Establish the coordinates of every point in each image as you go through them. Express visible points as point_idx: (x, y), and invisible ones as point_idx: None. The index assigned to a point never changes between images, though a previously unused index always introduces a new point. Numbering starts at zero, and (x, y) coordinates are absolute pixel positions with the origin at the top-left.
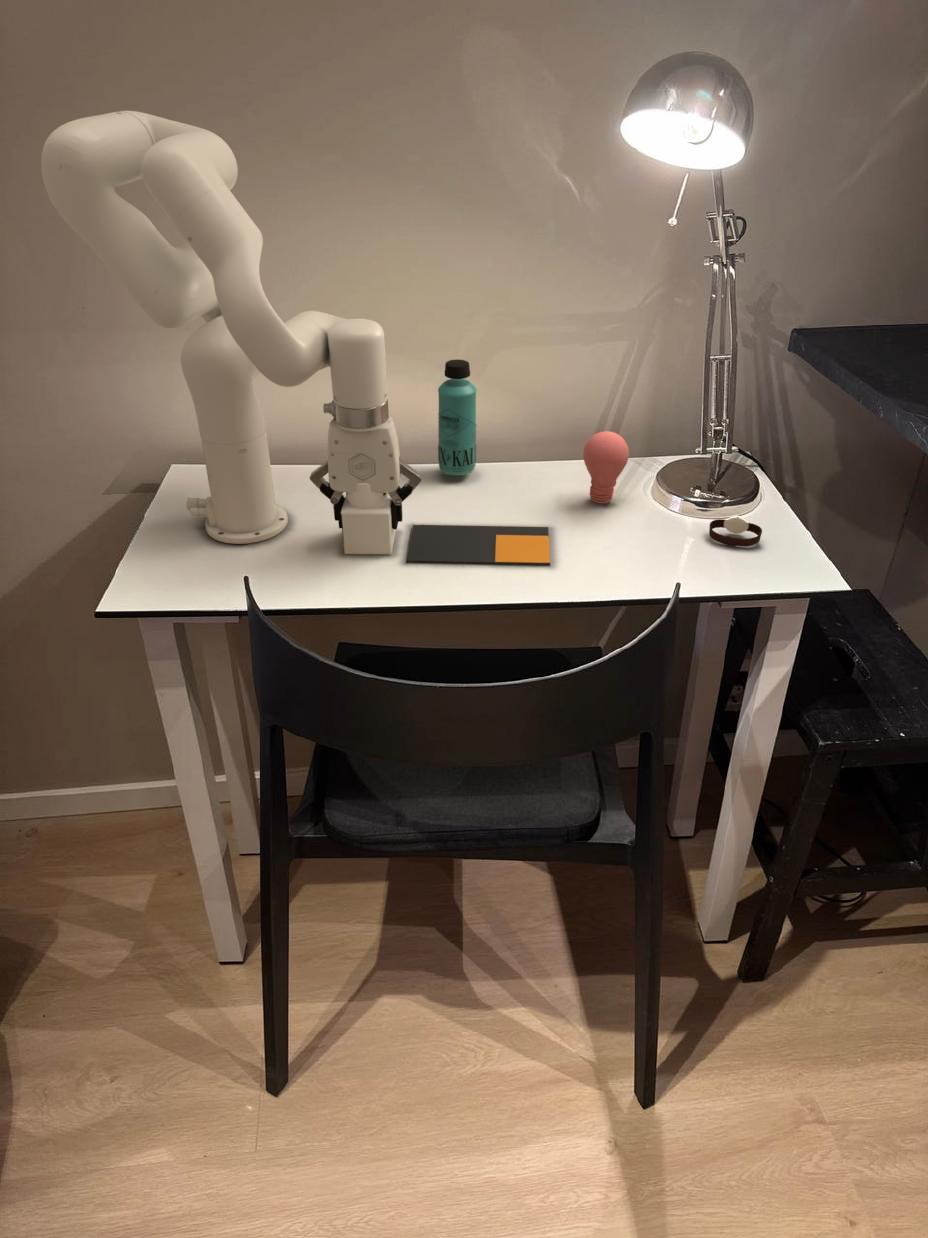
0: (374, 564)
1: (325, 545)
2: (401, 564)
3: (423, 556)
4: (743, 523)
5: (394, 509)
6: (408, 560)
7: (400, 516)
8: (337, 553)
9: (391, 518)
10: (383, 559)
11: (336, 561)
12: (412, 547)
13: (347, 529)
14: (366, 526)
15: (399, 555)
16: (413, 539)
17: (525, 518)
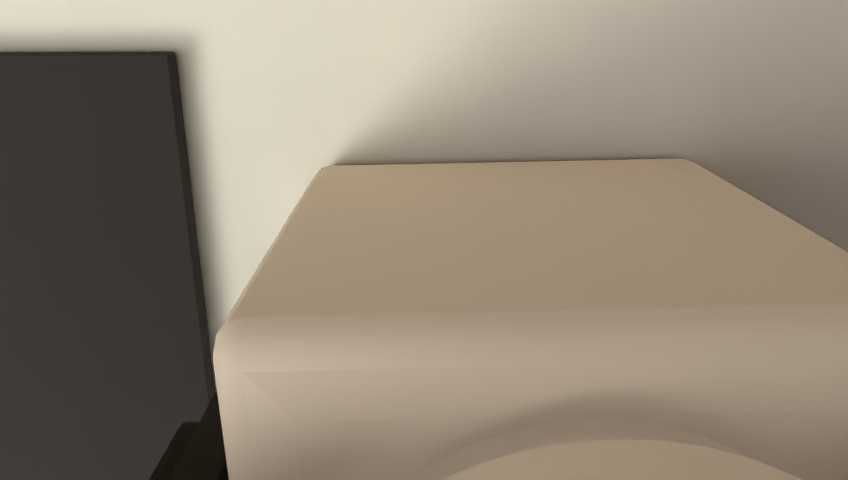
0: (434, 16)
1: None
2: (211, 26)
3: (41, 127)
4: None
5: (181, 475)
6: (148, 52)
7: (171, 449)
8: (744, 179)
9: None
10: (371, 101)
11: (751, 52)
12: (163, 261)
13: (753, 225)
14: (540, 242)
15: (255, 169)
16: (181, 373)
17: None
